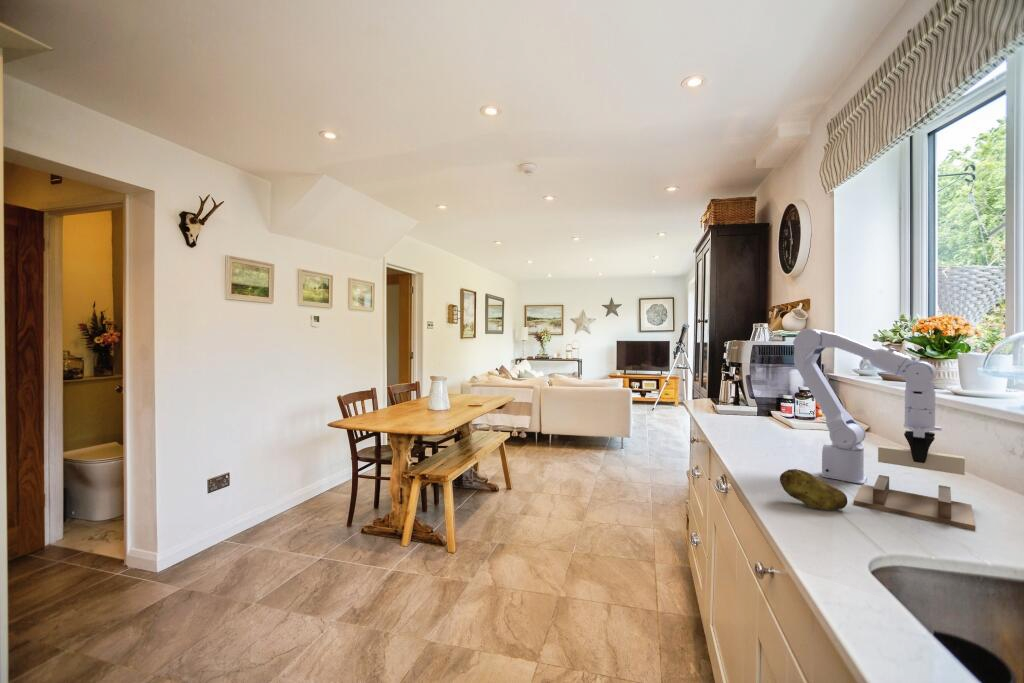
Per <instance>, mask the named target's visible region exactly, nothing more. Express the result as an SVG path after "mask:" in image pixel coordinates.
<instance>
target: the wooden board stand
mask: <svg viewBox="0 0 1024 683" xmlns="http://www.w3.org/2000/svg"><path fill="white" fill-rule="evenodd" d="M853 505H855V506H859V507H865V508H869V509H873V510H879V511H883V512H888V513H892V514H897V515H902V516H905V517H911V518H916V519H920V520H925V521H929V522H934V523H940V524H943V525H949V526H953V527H957V528H961V529H962V528H963V529H967V530H971V531H976V521H975V516H974V511H973V506H972V504H971V503H965V502H962V501H961V502H959V501H954V500H952V491H951V486H946V485H940V484H939V485H938V497H934V496H927V495H922V494H916V493H913V492H912V493H911V492H905V491H901V490H895V489H891V488H890V476H888V475H881V474H879V475H878V476H877V478H876V481H875V483H874V485H871V484H870V485H868V484H865V483H864V484H861V486H860V487H859V489H858V491H857V493H856V495H855V497H854V498H853Z"/></svg>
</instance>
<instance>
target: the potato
mask: <svg viewBox="0 0 1024 683" xmlns="http://www.w3.org/2000/svg"><path fill="white" fill-rule="evenodd" d="M779 482H780V484H781V487H782V488H783V491H784V492H786V494H787V495H788V496H789V497H791V498H793V499H795V500H798V501H800V502H801V503H803V504H804V505H805V506H807V507H810V508H813V509H817V510H823V511H837V510H842V509H845V507H846V506H847V505H848V496H847V495H846V493H845V492H843V491H842V490H841V489H839V488H837V487H835V486H834V485H831V484H829V483H827V482H825V481H824V480H822V479H820V478H818V477H816V476H815V475H813V474H811V473H810V472H807V471H805V470H803V469H797V468H794V469H793V468H792V469H787V470H785V471H783V472H782V473H781V474H780V476H779Z"/></svg>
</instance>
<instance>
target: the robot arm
mask: <svg viewBox="0 0 1024 683" xmlns="http://www.w3.org/2000/svg"><path fill="white" fill-rule="evenodd" d="M792 344H793V364H794V366H795V368H796V369H797V371H798V373H799V374H800V376H801V378H802V379H803V382H805V385H806V386H807V388H808V390H809V391H810V392H811V395H812V396H813V398H814V399H815V402H816V403H817V404H818V407H819V408H820V409H821V411H822V413H823V416H825V420H826V421H825V423H826V427H827V430H828V431H829V439H830V441H831V444H826V443H825V444H823V446H822V449H821V450H822V451H821V477H823V478H827V479H828V478H829V479H834V480H839V481H844V482H849V483H855V484H861V485H862V484H864V485H865V482H866V480H867V478H868V476H867V475H865V474H864V467H865V466H864V465H865V464H864V462H865V461H864V460H865V459H864V458H865V456H864V455H865V454H864V453H865V450H864V448H865V447H864V446H863V445H862V443H863V441H864V440H865V439H866V435H867V433H866V430H865V428H864V427H863V426H862V425H861V424H859V423H858V422H856V420H855V419H854V418H853V416H852V415H851V414H849V412H848V411H846V410H845V408H844V406H843V405H842V403H841V401H840V400H839V398H838V396H837V395H836V393H835V391H834V390H833V388H832V386H831V385H830V383H829V382H828V380H827V379H826V376H824V373H823V372H822V370H821V368H820V367H819V365H818V363H817V361H818V359H819V357H820V355H821V353H822V352H823V351H824V350H826V348H827V349H828V348H829V349H830V348H831V349H832V348H835V349H836V348H837V349H839V350H841V351H845V352H847V353H850V354H853V355H856V356H859V357H861V358H864V359H866V360H868V361H869V363H870V366H872V367H873V368H876V369H879V370H881V371H884V372H886V373H889V374H891V375H894V376H896V377H898V378H900V377H902V379H904V380H905V388H904V423H903V427H904V428H905V429H908V430H905V431H904V434H903V435H904V437H905V439H906V441H907V443H908V446H909V449H911V454H912V458H913V461H914V462H919V463H925V461H926V458H927V454H928V452H929V449H930V447H931V445H932V443H933V442H934V440H935V435H936V434H935V433H936V432H934V431H942V426H938V425H937V426H936V390H935V388H936V384H935V380H936V378H937V375H938V370H937V368H936V367H935V365H933V364H931V363H930V362H928V361H927V360H918V357H916V356H910V355H905V354H903V353H901V352H897V351H896V350H897V349H896V348H893V347H884V346H883V347H880V348H873V347H871V346H868V345H865V344H864V343H860V342H858V341H856V340H854V339H851V338H849V337H847V336H844V335H842V334H838V333H836V332H831V331H826V330H824V329H821V328H820V329H819V328H816V329H815V328H814V329H813V328H804V329H802V330H800V331H799V332H798V333H797V334H796V336H795V337H794V339H793V342H792Z"/></svg>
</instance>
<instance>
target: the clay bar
mask: <svg viewBox="0 0 1024 683" xmlns="http://www.w3.org/2000/svg"><path fill="white" fill-rule="evenodd" d="M877 452H878V453H877V462H878V463H881V464H888V465H896V466H902V467H907V468H916V469H921V470H928V471H934V472H940V473H949V474H955V475H961V476H965V472H966V471H965V469H966V468H965V466H966V465H965V463H966V462H965V456H964V455H956V454H949V453H942V452H941V453H940V452H935V451H928V454H927V458H926V461H925V463H919V462H914V461H913V458H912V454H911V449H910V448H904V447H903V448H902V447H897V446H889V445H881V444H880V445H879V444H878V447H877Z"/></svg>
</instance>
